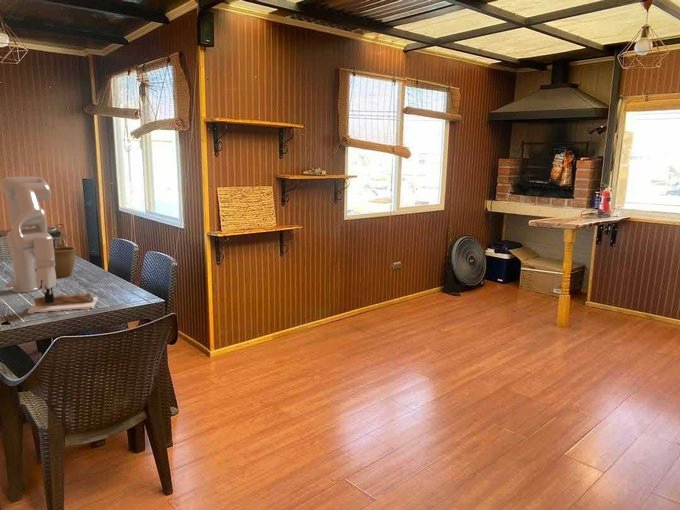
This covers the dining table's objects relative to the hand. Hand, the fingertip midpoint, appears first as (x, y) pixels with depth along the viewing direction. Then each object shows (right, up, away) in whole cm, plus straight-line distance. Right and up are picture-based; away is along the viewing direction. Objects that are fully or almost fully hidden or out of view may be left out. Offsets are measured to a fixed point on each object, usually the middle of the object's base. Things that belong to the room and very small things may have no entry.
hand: (49, 302), depth 224 cm
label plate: (+4, -2, +5) cm, 7 cm away
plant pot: (-27, +9, +60) cm, 67 cm away
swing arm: (+4, 0, +5) cm, 6 cm away
